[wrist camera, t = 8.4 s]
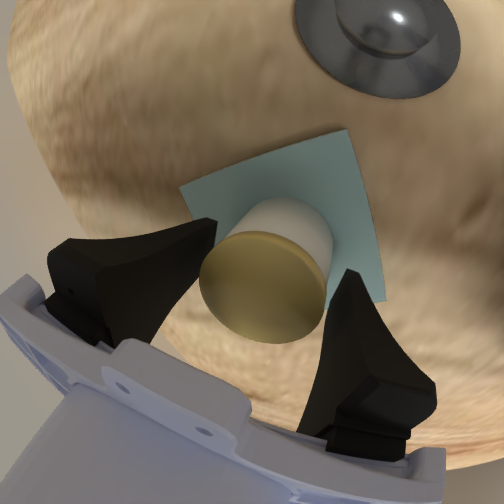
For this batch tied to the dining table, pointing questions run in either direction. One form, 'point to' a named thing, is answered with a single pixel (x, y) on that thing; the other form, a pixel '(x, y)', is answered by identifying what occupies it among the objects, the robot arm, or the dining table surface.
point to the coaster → (307, 190)
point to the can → (270, 272)
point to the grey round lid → (382, 43)
